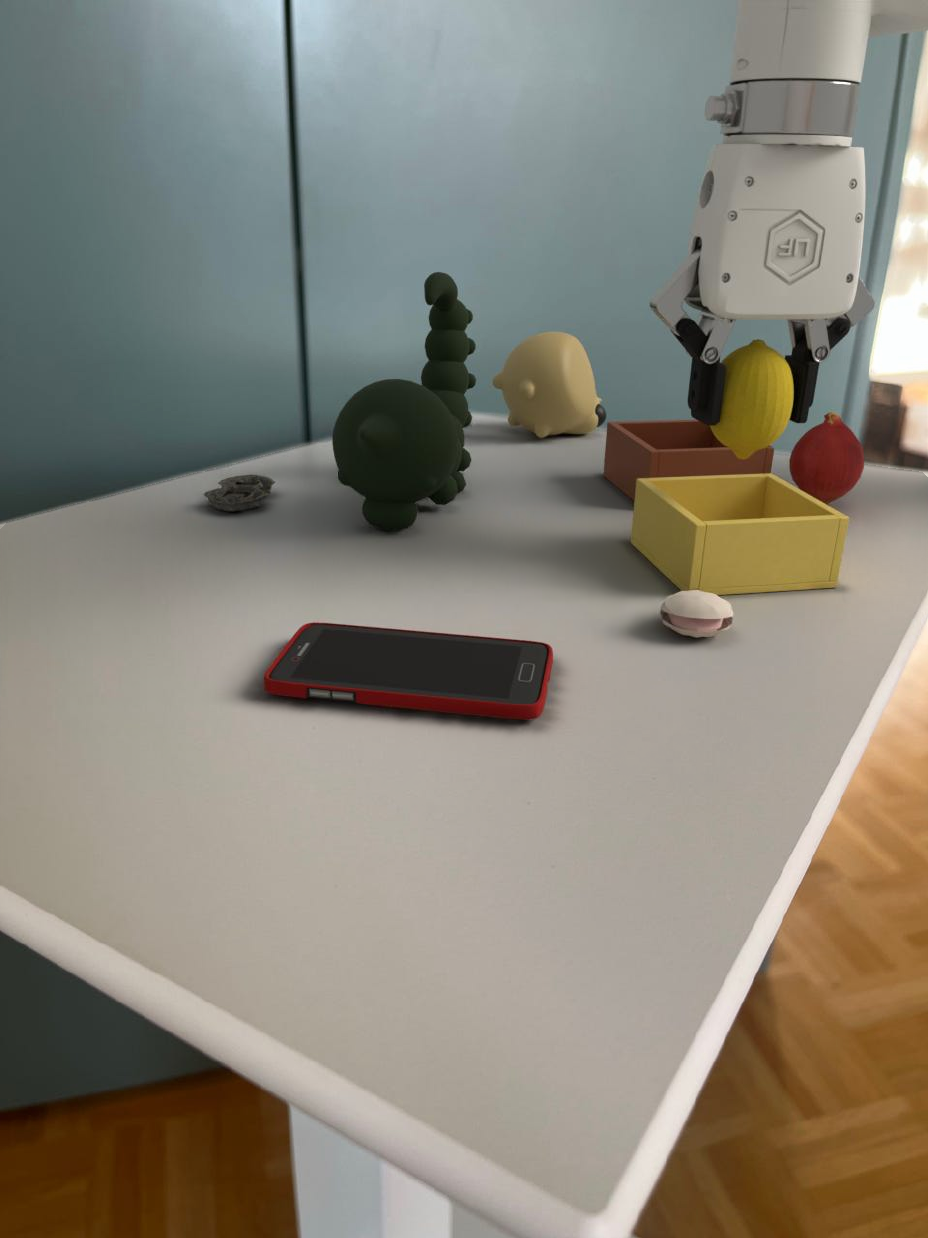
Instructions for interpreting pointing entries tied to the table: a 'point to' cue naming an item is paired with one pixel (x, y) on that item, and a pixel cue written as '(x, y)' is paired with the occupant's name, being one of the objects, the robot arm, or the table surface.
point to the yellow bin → (737, 533)
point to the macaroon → (696, 613)
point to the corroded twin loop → (240, 492)
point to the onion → (827, 460)
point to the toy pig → (550, 386)
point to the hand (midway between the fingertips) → (748, 417)
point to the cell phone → (414, 670)
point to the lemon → (754, 399)
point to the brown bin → (672, 453)
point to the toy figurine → (412, 423)
